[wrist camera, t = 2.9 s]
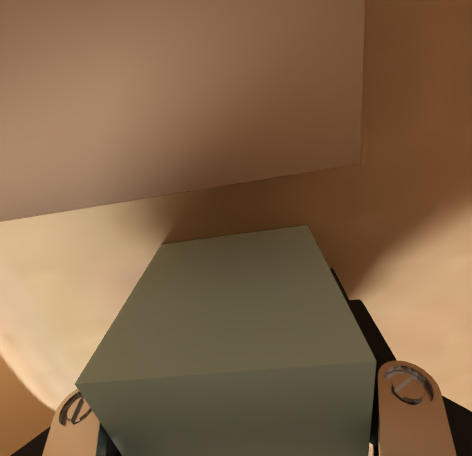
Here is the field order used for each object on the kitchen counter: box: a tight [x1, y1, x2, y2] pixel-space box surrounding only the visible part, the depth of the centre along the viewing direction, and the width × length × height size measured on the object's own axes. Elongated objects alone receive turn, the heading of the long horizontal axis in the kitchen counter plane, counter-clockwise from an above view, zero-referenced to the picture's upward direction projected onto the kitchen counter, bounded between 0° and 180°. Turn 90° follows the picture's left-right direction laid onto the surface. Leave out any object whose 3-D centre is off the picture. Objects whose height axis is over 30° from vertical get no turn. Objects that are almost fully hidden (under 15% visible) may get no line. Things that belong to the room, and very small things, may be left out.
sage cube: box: [75, 225, 376, 456], centre depth 9 cm, size 6×6×6 cm
